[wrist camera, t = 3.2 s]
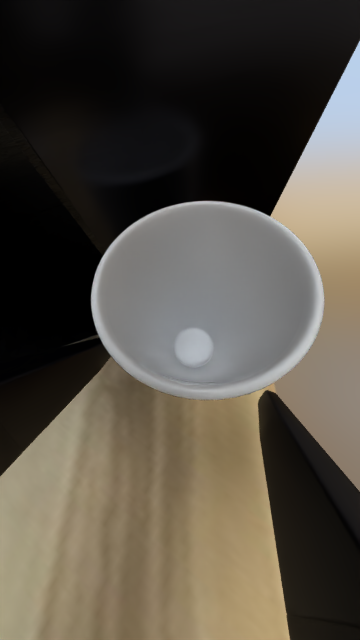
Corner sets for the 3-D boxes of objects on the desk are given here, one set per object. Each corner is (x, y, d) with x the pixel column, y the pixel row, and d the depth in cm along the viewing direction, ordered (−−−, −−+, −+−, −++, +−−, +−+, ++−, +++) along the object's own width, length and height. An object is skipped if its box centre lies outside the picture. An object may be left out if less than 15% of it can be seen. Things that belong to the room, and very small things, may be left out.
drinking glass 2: (162, 332, 19) (80, 226, 5) (208, 318, 19) (254, 178, 5) (175, 383, 17) (91, 453, 3) (228, 367, 17) (407, 350, 3)
